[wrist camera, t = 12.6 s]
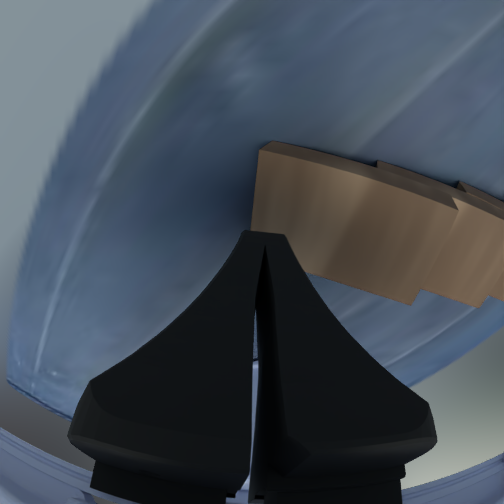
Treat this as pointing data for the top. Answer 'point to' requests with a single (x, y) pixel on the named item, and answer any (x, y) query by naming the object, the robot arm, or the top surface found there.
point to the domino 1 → (352, 219)
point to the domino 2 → (464, 246)
